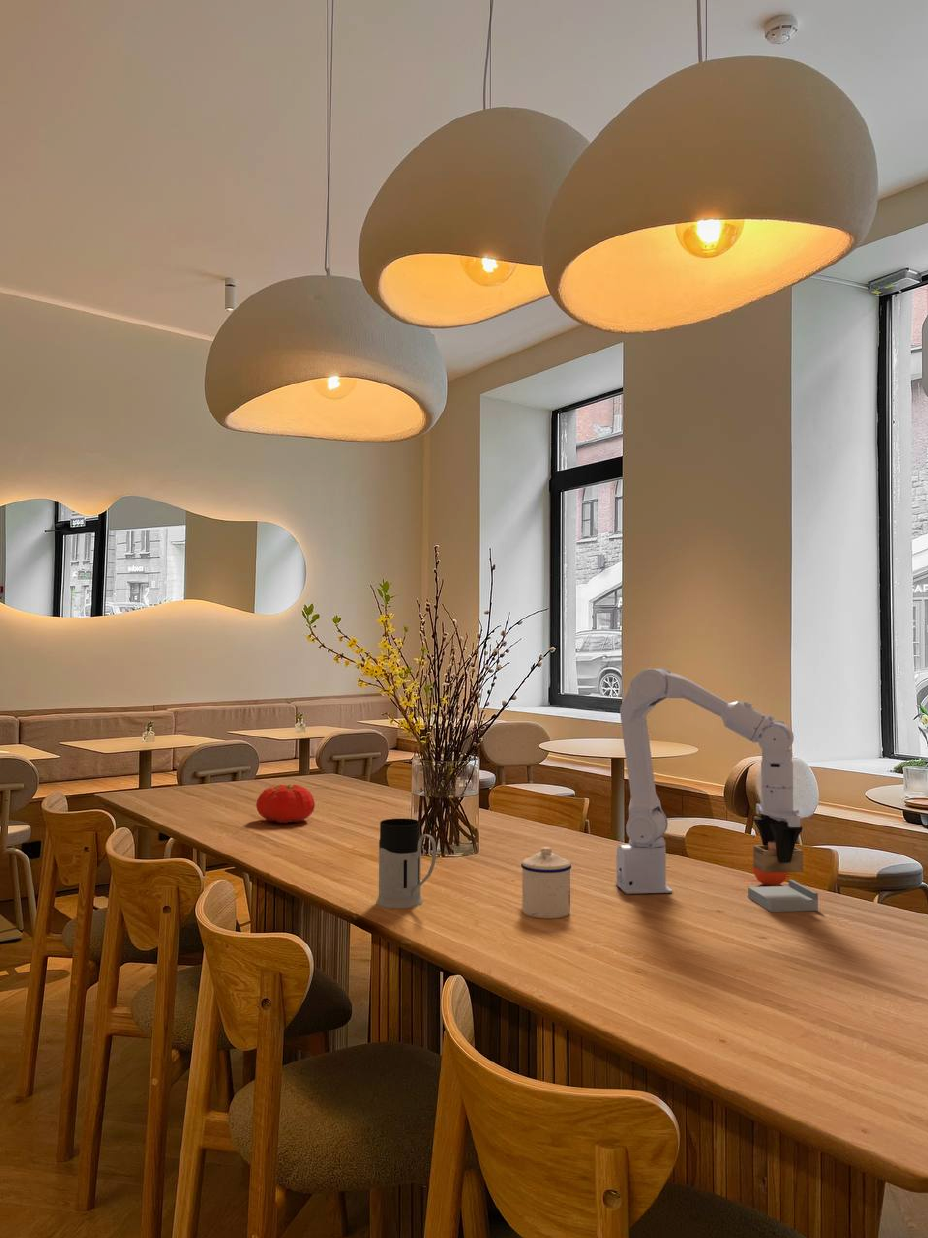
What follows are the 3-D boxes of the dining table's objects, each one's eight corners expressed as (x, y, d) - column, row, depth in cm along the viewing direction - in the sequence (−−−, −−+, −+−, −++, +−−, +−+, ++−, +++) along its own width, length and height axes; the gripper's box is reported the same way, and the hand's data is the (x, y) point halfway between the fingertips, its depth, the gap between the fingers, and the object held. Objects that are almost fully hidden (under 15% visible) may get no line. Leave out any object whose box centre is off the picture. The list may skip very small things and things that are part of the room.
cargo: (772, 855, 170) (772, 844, 170) (765, 851, 174) (765, 840, 174) (788, 855, 171) (788, 844, 171) (781, 851, 174) (781, 840, 174)
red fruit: (791, 892, 181) (791, 855, 181) (755, 890, 182) (754, 854, 182) (785, 882, 188) (785, 847, 189) (750, 880, 190) (750, 845, 190)
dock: (770, 911, 166) (770, 894, 167) (748, 897, 176) (747, 880, 176) (817, 910, 167) (817, 892, 168) (792, 896, 177) (792, 879, 177)
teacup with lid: (581, 915, 164) (581, 850, 164) (538, 922, 159) (538, 855, 160) (544, 899, 174) (544, 838, 175) (503, 905, 170) (503, 842, 171)
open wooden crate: (764, 872, 169) (764, 850, 169) (753, 866, 174) (753, 845, 174) (803, 872, 170) (803, 850, 170) (790, 865, 175) (790, 844, 175)
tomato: (265, 816, 261) (265, 781, 262) (321, 817, 260) (321, 783, 260) (248, 826, 247) (249, 789, 248) (307, 827, 246) (307, 790, 246)
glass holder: (402, 893, 178) (402, 816, 179) (452, 907, 168) (452, 826, 169) (366, 901, 172) (367, 821, 173) (416, 917, 162) (417, 832, 163)
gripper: (815, 791, 166) (816, 867, 165) (780, 780, 180) (780, 849, 180) (778, 792, 165) (779, 867, 165) (745, 781, 180) (746, 850, 179)
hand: (777, 858), depth 172 cm, fingers closed on open wooden crate, 5 cm apart
